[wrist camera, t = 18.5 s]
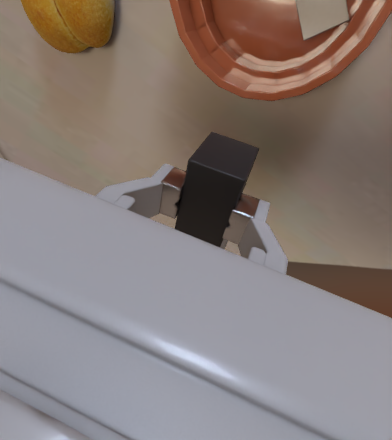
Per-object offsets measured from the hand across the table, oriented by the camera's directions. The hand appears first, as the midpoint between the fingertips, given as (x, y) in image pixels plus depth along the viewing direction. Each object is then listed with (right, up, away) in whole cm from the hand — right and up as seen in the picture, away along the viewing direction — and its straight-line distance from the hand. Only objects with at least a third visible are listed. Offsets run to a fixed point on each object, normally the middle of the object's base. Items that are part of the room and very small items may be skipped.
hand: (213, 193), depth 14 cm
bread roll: (-12, +20, +13) cm, 26 cm away
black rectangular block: (0, 0, +3) cm, 3 cm away
